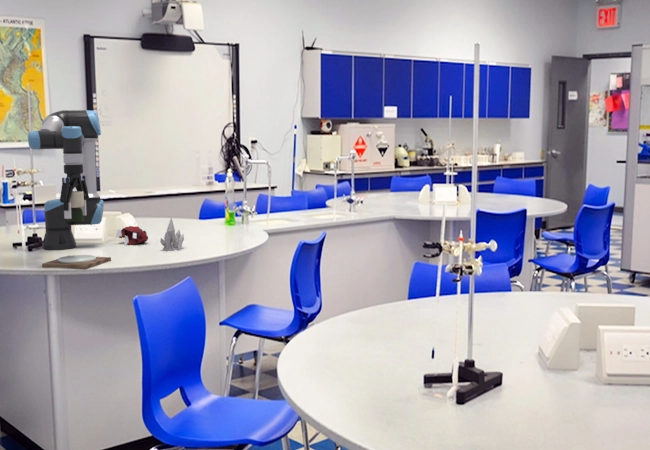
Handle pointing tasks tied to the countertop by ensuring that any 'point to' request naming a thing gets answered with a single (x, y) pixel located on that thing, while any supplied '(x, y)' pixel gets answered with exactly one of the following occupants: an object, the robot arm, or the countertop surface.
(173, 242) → the crystal
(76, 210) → the character mug
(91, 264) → the stand
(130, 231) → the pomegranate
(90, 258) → the saucer
